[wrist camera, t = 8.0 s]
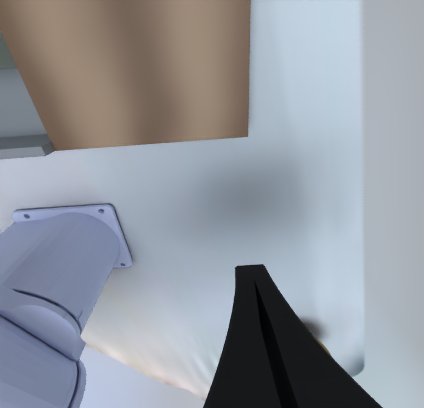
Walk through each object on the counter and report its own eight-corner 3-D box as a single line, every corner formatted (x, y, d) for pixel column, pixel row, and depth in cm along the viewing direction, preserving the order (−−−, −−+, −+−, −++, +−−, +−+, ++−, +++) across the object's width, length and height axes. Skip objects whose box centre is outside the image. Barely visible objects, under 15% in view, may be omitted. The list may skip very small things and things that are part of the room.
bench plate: (77, 138, 17) (54, 150, 15) (-43, -171, 10) (-129, -252, 7) (241, 126, 17) (247, 136, 15) (243, -200, 10) (255, -295, 7)
